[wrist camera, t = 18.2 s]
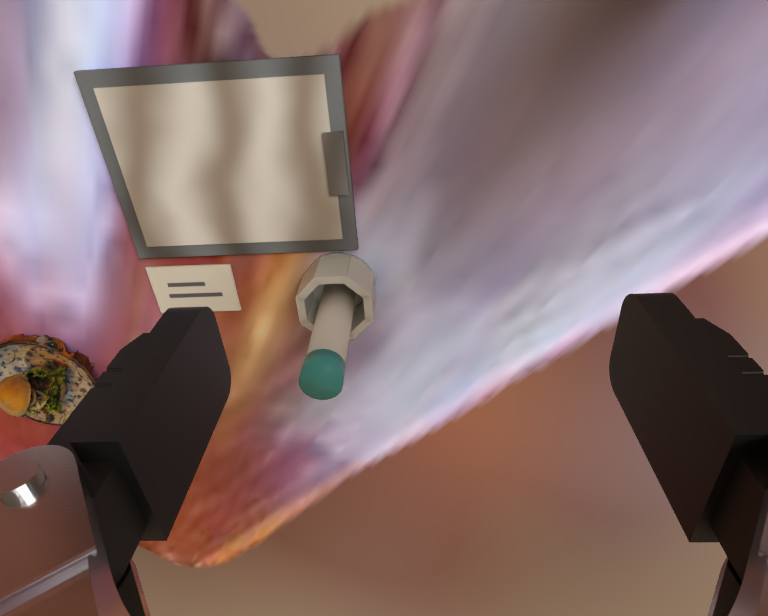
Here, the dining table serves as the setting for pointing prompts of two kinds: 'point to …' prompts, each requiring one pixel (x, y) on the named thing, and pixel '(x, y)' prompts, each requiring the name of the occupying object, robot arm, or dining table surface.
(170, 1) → the dining table surface
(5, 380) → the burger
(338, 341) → the marker
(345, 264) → the pen cup
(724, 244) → the dining table surface
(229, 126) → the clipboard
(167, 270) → the word card
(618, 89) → the dining table surface
